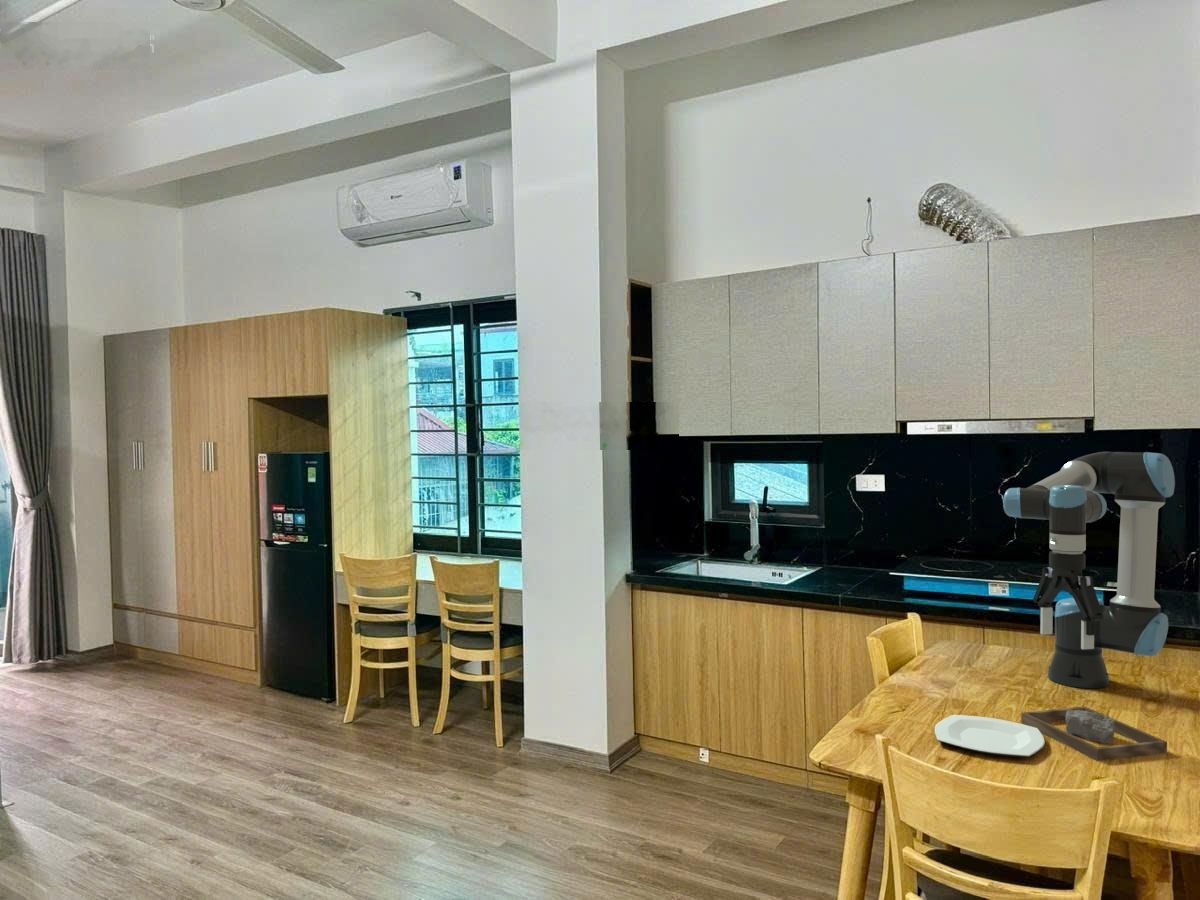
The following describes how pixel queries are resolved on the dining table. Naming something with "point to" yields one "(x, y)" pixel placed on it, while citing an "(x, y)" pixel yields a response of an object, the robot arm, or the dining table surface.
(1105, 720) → the stone
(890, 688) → the dining table surface
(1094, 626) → the robot arm
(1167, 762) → the dining table surface
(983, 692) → the dining table surface
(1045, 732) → the empty rectangular frame
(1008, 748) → the plate
